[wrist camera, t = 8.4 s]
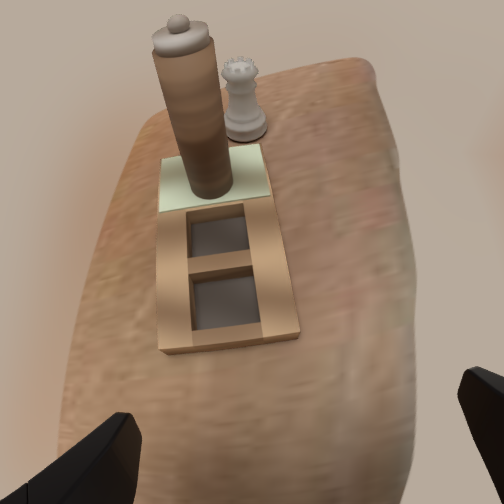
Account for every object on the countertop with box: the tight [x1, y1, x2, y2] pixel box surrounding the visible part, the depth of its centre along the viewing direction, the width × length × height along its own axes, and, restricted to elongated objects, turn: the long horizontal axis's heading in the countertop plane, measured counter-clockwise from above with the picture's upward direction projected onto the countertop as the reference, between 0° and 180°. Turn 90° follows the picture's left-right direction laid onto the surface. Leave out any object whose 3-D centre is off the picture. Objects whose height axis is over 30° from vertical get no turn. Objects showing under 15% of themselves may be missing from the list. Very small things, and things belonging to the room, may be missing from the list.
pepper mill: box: [152, 14, 233, 200], centre depth 19 cm, size 3×3×14 cm
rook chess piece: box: [221, 57, 267, 142], centre depth 27 cm, size 4×4×8 cm
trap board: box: [156, 143, 300, 355], centre depth 24 cm, size 16×9×2 cm, turn 8°
